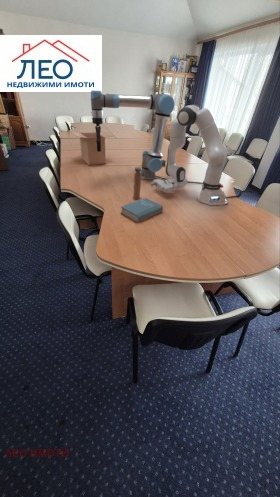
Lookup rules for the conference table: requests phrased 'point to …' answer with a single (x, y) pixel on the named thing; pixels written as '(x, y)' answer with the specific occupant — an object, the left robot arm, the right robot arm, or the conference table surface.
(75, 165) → the conference table surface
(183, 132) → the right robot arm
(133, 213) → the book
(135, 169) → the cap
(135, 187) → the bottle
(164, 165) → the laser sight
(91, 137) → the box
